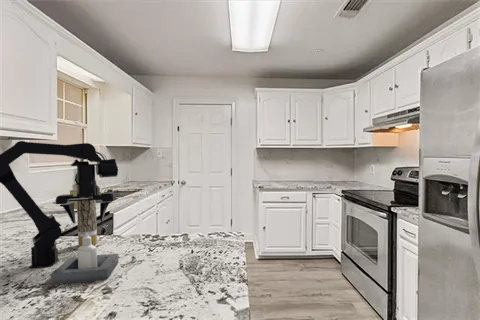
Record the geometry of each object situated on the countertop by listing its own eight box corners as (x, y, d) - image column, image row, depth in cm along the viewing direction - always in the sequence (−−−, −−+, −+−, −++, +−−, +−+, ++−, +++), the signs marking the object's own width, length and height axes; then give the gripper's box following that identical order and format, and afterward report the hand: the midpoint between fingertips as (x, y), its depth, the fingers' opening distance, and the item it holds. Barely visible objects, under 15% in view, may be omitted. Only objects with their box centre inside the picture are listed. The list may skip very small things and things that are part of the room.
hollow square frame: (51, 285, 83) (50, 274, 83) (70, 266, 97) (70, 257, 97) (107, 279, 85) (107, 268, 85) (118, 262, 99) (118, 253, 99)
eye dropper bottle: (82, 277, 87) (81, 235, 87) (77, 272, 92) (76, 232, 92) (98, 273, 90) (97, 233, 90) (92, 268, 95) (91, 230, 95)
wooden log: (89, 247, 119) (87, 183, 119) (74, 246, 120) (72, 184, 120) (100, 242, 126) (98, 182, 126) (86, 242, 127) (84, 182, 127)
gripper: (118, 176, 118) (120, 216, 118) (66, 178, 114) (68, 219, 115) (112, 177, 107) (113, 222, 107) (54, 180, 104) (55, 225, 104)
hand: (87, 222), depth 108 cm, fingers open, 9 cm apart
